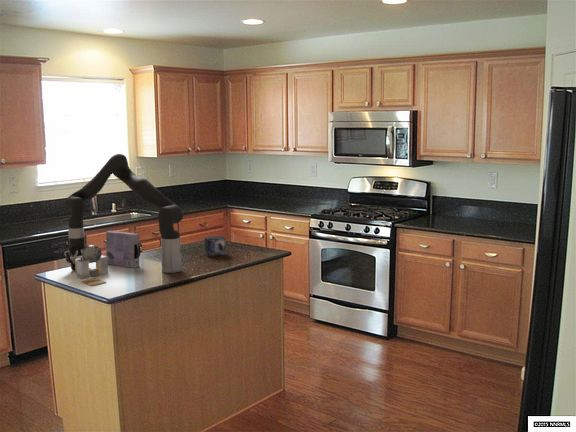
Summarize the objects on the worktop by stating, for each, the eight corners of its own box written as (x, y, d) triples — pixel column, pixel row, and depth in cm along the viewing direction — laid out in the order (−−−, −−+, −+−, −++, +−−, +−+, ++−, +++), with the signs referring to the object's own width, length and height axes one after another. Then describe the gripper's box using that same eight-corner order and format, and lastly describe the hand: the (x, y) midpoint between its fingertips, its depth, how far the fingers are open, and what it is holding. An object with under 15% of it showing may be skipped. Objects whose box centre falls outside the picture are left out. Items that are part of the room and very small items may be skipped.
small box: (207, 257, 326) (207, 239, 324) (204, 255, 332) (204, 236, 330) (226, 255, 330) (225, 237, 329) (222, 253, 336) (222, 235, 334)
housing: (107, 273, 293) (106, 243, 291) (82, 279, 283) (80, 248, 280) (102, 271, 296) (101, 242, 294) (77, 277, 286) (75, 247, 283)
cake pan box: (141, 266, 307) (140, 233, 304) (136, 268, 303) (134, 234, 299) (111, 262, 314) (110, 230, 311) (105, 264, 310) (104, 231, 307)
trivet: (106, 282, 277) (106, 281, 277) (92, 286, 271) (92, 284, 271) (94, 279, 283) (94, 277, 283) (81, 282, 278) (81, 280, 278)
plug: (100, 275, 289) (99, 264, 288) (92, 277, 286) (91, 266, 285) (79, 268, 301) (79, 257, 300) (71, 270, 298) (71, 259, 297)
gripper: (85, 233, 303) (87, 265, 306) (59, 237, 292) (61, 270, 295) (93, 235, 298) (95, 267, 301) (67, 239, 287) (69, 273, 290)
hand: (78, 269), depth 298 cm, fingers closed on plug, 4 cm apart
